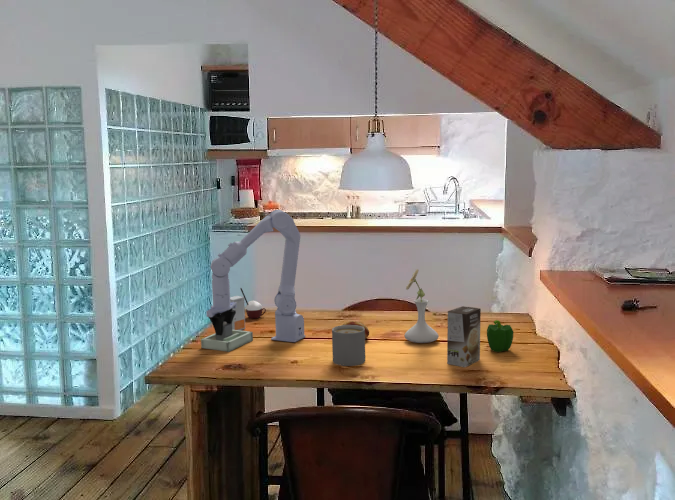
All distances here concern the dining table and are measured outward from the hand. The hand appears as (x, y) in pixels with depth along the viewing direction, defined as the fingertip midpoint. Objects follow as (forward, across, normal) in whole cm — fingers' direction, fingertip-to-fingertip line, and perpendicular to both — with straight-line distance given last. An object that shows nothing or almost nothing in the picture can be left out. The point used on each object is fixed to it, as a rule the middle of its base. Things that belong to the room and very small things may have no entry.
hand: (223, 333), depth 222 cm
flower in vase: (+4, -26, +61) cm, 66 cm away
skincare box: (+4, -16, -6) cm, 18 cm away
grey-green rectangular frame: (+4, 0, +2) cm, 4 cm away
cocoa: (+4, -34, -10) cm, 36 cm away
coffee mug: (+4, 0, +47) cm, 47 cm away
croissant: (+4, -22, +39) cm, 45 cm away
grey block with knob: (+2, 0, 0) cm, 2 cm away
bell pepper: (+4, -26, +87) cm, 91 cm away
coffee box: (+4, -10, +80) cm, 80 cm away
